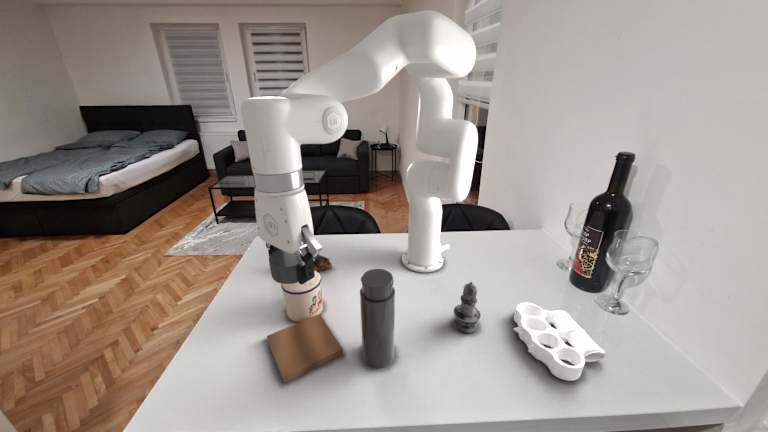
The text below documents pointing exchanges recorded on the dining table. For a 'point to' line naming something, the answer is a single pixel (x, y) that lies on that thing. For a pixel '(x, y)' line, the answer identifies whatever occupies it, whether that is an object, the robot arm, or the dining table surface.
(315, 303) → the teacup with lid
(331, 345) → the coaster
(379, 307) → the thermos
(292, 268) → the thermos lid
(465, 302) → the dark stone figurine
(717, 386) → the dining table surface
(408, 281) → the dining table surface
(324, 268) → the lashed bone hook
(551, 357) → the white brass knuckles
